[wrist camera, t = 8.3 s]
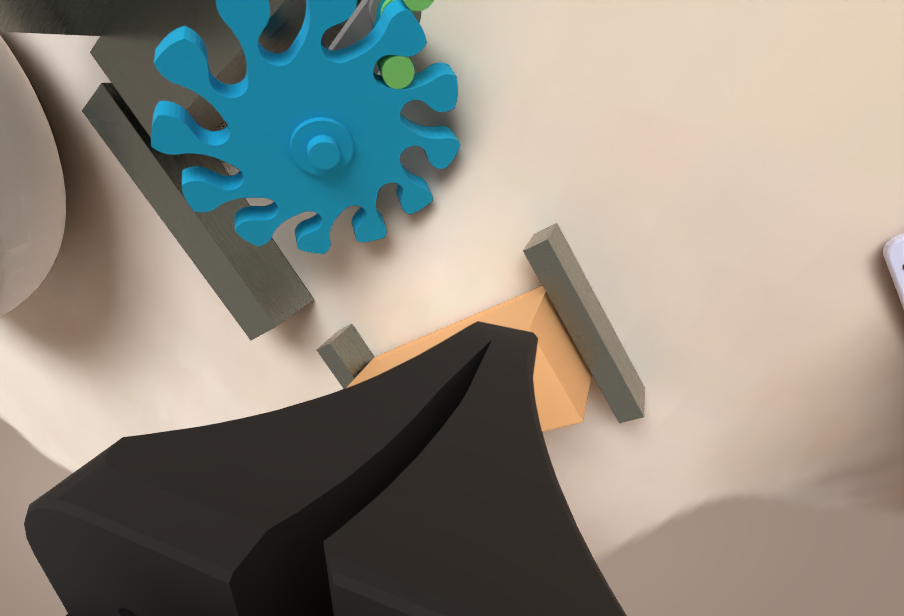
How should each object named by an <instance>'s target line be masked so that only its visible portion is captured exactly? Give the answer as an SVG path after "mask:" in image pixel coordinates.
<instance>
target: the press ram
mask: <svg viewBox="0 0 904 616" xmlns="http://www.w3.org/2000/svg"><path fill="white" fill-rule="evenodd" d="M477 321H480V322H485V323H490V324H494V325H499V326H504V327H509V328H514V329H519V330H524V331H529V332H534V334H535V335H536V336H537V338H538V344H537V352H536V359H535V367H534V374H533V382H534V392H535V399H536V406H537V411H538V416H539V421H540V425H541V429H542V432H544V431H548V430H552V429H556V428H560V427H564V426H568V425H572V424H576V423H580V422H583V419H584V414H585V408H586V403H587V398H588V392H589V387H590V381H591V376H592V373H591V371H590V370H589V368H588V366H587V364H586V362H585V361H584V359H583V357H582V355H581V353H580V352H579V350H578V348H577V346H576V345H575V343H574V341H573V339H572V337H571V336H570V334H569V332H568V330H567V328H566V327H565V325H564V323H563V321H562V319H561V318H560V316H559V314H558V312H557V311H556V309H555V307H554V305H553V303H552V302H551V300H550V298H549V296H548V294H547V293H546V291H545V289H544V287H543V286H540V287H538V288H536V289H533V290H531V291H529V292H526V293H524V294H522V295H519V296H517V297H515V298H512V299H510V300H508V301H505V302H503V303H501V304H498V305H496V306H494V307H491V308H489V309H486V310H484V311H482V312H479V313H477V314H475V315H472V316H470V317H468V318H465V319H463V320H461V321H458V322H456V323H454V324H451V325H449V326H447V327H444V328H442V329H440V330H437V331H435V332H433V333H430V334H428V335H426V336H423V337H421V338H418V339H416V340H414V341H411V342H409V343H407V344H404V345H402V346H400V347H397V348H395V349H393V350H390V351H388V352H386V353H383V354H381V355H379V356H376V357H374V358H373V360H372V361H371V362H370V363H369V364H368V365H367V366H366V367H365V368H364V369H363V370H362V371H361V372H360V374H359V375H358V376H357V377H356V378H355V379H354V380H353V381H352V382H351V383H350V384H349V385H348V386H347V388H348V387H350V386H353V385H356V384H358V383H361V382H363V381H365V380H368V379H370V378H372V377H375V376H377V375H379V374H381V373H383V372H385V371H387V370H389V369H391V368H393V367H395V366H397V365H399V364H401V363H403V362H405V361H408V360H410V359H412V358H414V357H416V356H417V355H419V354H421V353H423V352H425V351H426V350H428V349H430V348H432V347H433V346H435V345H437V344H439V343H440V342H442V341H444V340H446V339H447V338H449V337H451V336H452V335H454V334H456V333H458V332H459V331H461V330H463V329H464V328H466V327H468V326H469V325H471V324H473V323H475V322H477Z"/></svg>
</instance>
